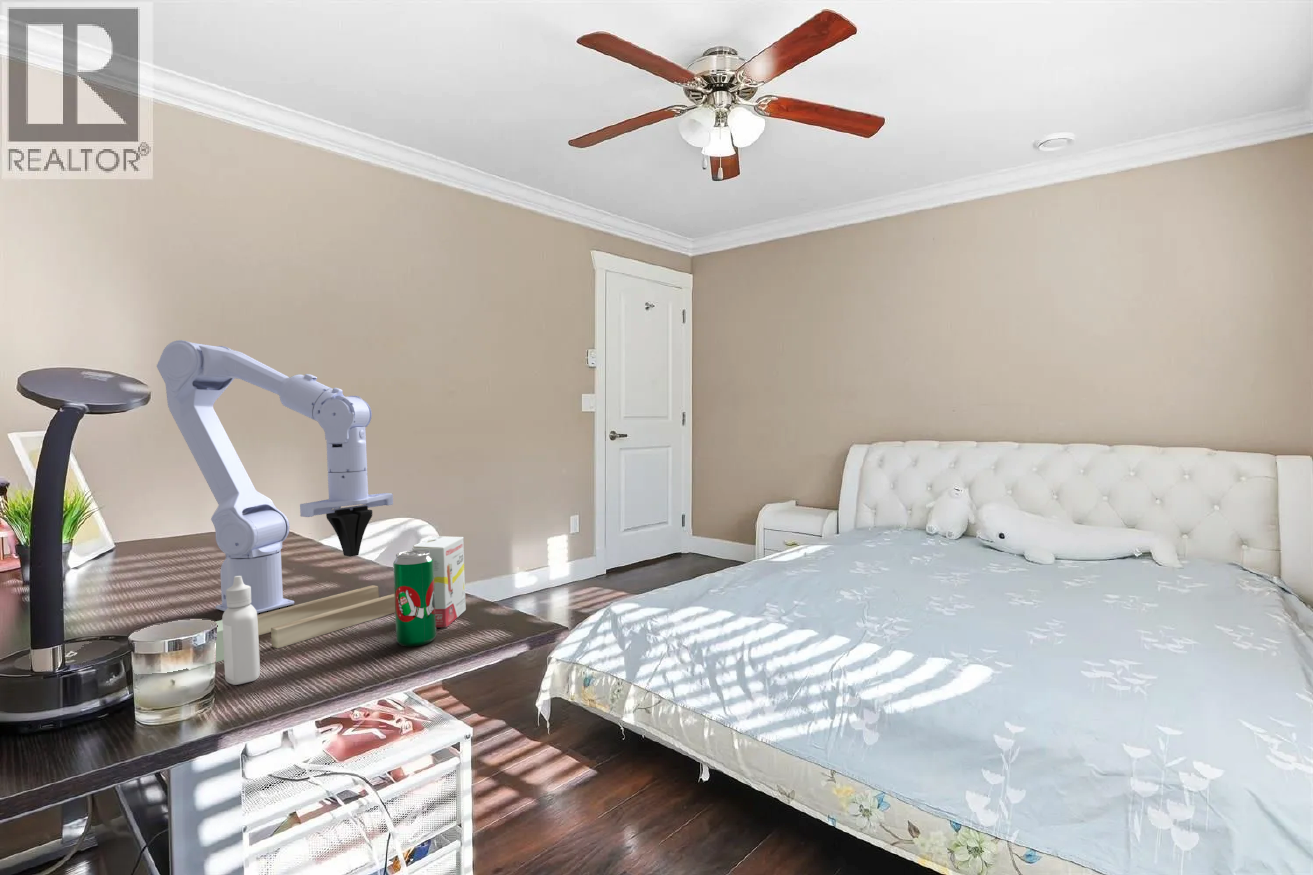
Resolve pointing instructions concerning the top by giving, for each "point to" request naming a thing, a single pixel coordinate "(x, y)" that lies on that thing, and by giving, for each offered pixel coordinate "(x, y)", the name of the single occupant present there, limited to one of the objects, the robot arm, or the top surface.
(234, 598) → the eye dropper bottle
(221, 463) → the robot arm
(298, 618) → the chute
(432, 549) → the ink box
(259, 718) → the top surface
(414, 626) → the soda can
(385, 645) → the top surface
